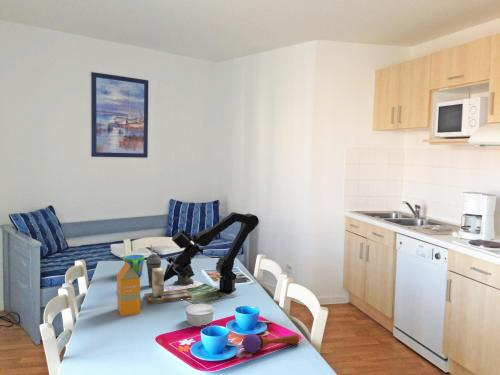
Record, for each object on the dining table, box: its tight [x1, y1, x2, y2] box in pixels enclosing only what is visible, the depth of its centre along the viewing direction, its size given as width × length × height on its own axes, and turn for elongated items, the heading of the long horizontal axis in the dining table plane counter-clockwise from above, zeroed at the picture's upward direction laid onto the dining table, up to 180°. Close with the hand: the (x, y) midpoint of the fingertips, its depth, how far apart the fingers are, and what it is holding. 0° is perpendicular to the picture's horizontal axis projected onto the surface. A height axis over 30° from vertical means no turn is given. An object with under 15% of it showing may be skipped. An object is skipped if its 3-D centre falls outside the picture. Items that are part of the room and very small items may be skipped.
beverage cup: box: [145, 244, 162, 288], centre depth 208 cm, size 7×7×20 cm
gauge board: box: [143, 288, 192, 305], centre depth 191 cm, size 19×10×2 cm, turn 113°
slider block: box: [151, 267, 165, 298], centre depth 188 cm, size 4×8×11 cm, turn 23°
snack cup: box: [123, 254, 146, 277], centre depth 224 cm, size 16×10×10 cm
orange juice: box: [116, 261, 141, 317], centre depth 174 cm, size 8×9×20 cm
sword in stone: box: [174, 274, 195, 286], centre depth 213 cm, size 10×8×12 cm
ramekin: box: [185, 303, 215, 327], centre depth 165 cm, size 11×11×5 cm
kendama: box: [242, 333, 300, 353], centre depth 144 cm, size 6×6×20 cm
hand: (163, 281), depth 190 cm, fingers closed, pressing on slider block
